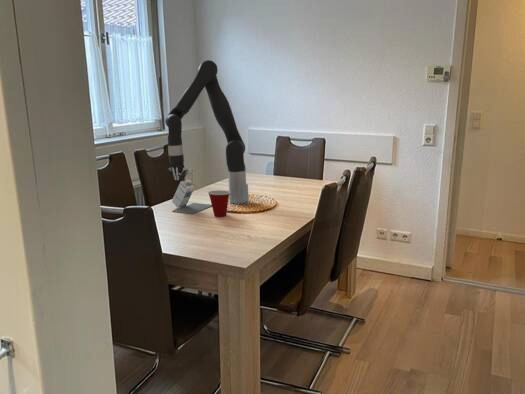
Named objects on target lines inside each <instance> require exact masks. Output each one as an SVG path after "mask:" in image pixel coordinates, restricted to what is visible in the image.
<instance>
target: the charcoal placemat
mask: <svg viewBox="0 0 525 394" xmlns="http://www.w3.org/2000/svg"><path fill="white" fill-rule="evenodd" d="M209 208H212V204H210V203H209V204H208V203H201V202H200V203H198V202H193V203H189V204H187V205H186V206H184V207H181V208H177V209H173V210H172V213H179V214H180V213H181V214H188V215H194V214H197V213H199V212H202V211H204V210H207V209H209Z"/></svg>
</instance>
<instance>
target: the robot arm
mask: <svg viewBox="0 0 525 394" xmlns="http://www.w3.org/2000/svg"><path fill="white" fill-rule="evenodd" d="M217 74H218V65H217V63H216V62H214V61H213V60H205V61H202V62H201V63H200V65H199V66H198V71H197V73H196V75H195V77H194V78H193V81H192V82H191V84H190V85H189V86H188V87H187V89H185V91H184V93H183V94H182V95H181V97H180V98H179V99H178V101H177V103H176V104H175V106H174V107H173V108H172V109H171V110H170V111H169V112H168V114H167V115H166V117H165V119H164V120H165V121H164V122H165V123H164V124H165V125H166V126H167V132H168V135H167V146H168V147H167V148H168V150H167V151H168V160H169V164H170V165H169V168H167V169H166V172H167V173H168V174H169V176H170V178H171V179H173V180H175V186H176V188H178V186H179V184H180V182H181V181H183V180H185V178H186V176H187V175H188V172H189V169H186V167H185V164H184V163H185V157H184V146H183V140H182V139H183V138H182V133H183V132H182V128H183V127H182V126H183V124H182V119H183V118H184V116H186V115H187V114H188V113H189V112H190V110H191V109H192V107H193V106H194V104H195V103H196V101H197V100H198V97H200V94H201V92H202V91H203V90H204V88H205V91H206V93H207V97H208V100H209V102H210V107H211V109H212V112H213V116H214V118H215V120H216V121H217V123H218V125H219V127H220V128H221V130H222V132H223V133H224V135H225V138H226V142H227V144H226V147H225V158H226V159H225V160H226V166H227V175H228V177H227V178H228V191H229V192H231V193H230V195H229V203H230V204H232V203H234V205H241V204H242V205H243V203H244V204H245V203H248V202H249V184H248V183H247V174H246V164H245V157H244V156H245V155H244V154H245V151H246V145H245V142H244V141H243V139H242V136H241V134H240V132H239V130H238V127H237V123H236V120H235V117H234V114H233V111H232V108H231V105H230V102H229V100H228V98H227V96H226V95H225V93H224V92H223V90H222V88H221V85H220V83H219V80H218V76H217ZM240 203H241V204H240Z"/></svg>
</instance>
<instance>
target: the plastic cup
mask: <svg viewBox="0 0 525 394" xmlns="http://www.w3.org/2000/svg"><path fill="white" fill-rule="evenodd" d="M230 193H231V192H229V190H209V191H207V194H208V195H209V199H210V203H211V204H210V205H212V207H211V209H212V211H213V215H214V217H215V218H223V217H226V216H227V214H228V213H227V212H228V205H229V204H228V203H229V199H230Z"/></svg>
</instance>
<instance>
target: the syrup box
mask: <svg viewBox="0 0 525 394" xmlns="http://www.w3.org/2000/svg"><path fill="white" fill-rule="evenodd" d="M195 187H196V185H195V184H194V183H193V182H192V181H191V180H190V179H184V180H181V182H180V184H179V186H178V187H176V188H177V189H176V191H175V193H174V195H173V197H172V199H171V203H172V204H174V206H175V207H176V208H177V209H179V208H182V207H184V206H187V205H188V202H189V200H190V198H191V196H192V194H193V192H194V190H195Z"/></svg>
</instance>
